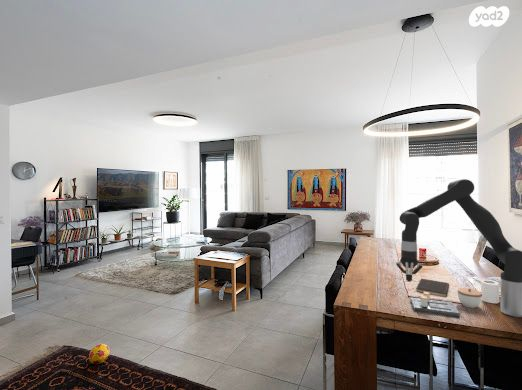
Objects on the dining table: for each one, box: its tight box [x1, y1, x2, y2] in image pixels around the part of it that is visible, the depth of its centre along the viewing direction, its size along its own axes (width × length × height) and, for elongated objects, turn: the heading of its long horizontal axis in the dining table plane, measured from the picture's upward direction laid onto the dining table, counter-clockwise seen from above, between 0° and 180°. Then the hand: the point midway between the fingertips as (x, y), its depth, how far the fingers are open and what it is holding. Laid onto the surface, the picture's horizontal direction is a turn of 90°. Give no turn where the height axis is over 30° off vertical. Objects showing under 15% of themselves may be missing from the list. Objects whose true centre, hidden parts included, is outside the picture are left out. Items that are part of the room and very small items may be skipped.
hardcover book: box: [415, 278, 450, 298], centre depth 177 cm, size 16×23×2 cm
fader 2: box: [420, 295, 427, 307], centre depth 145 cm, size 2×3×4 cm
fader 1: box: [422, 292, 431, 302], centre depth 151 cm, size 2×3×4 cm
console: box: [410, 297, 461, 318], centre depth 147 cm, size 20×14×2 cm
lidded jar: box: [457, 287, 483, 309], centre depth 150 cm, size 11×11×9 cm
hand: (408, 281), depth 148 cm, fingers closed
